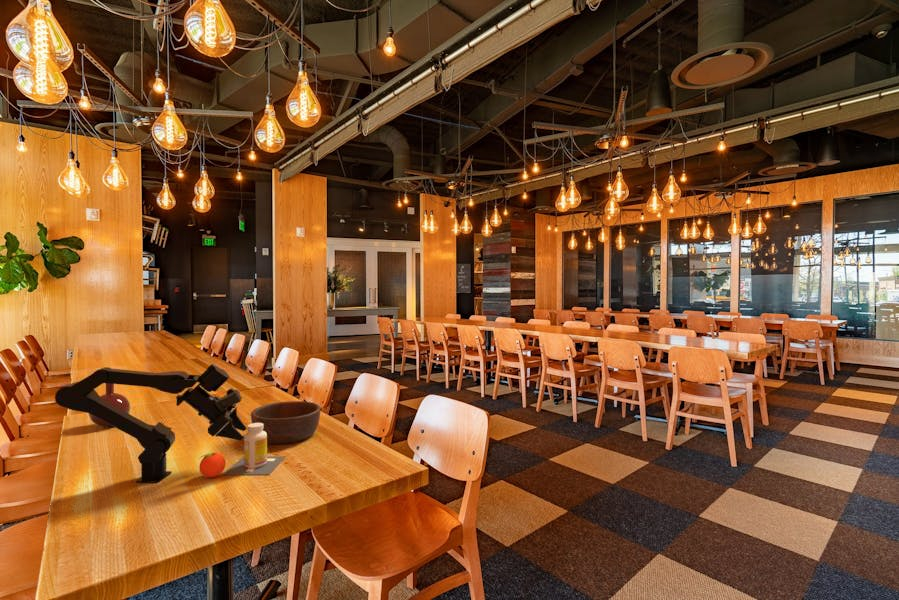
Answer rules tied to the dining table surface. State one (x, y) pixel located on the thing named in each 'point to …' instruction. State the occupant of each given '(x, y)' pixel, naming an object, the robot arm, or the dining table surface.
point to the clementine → (212, 464)
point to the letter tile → (263, 470)
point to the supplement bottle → (255, 446)
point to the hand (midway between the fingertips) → (244, 434)
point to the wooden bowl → (287, 421)
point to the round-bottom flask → (113, 399)
